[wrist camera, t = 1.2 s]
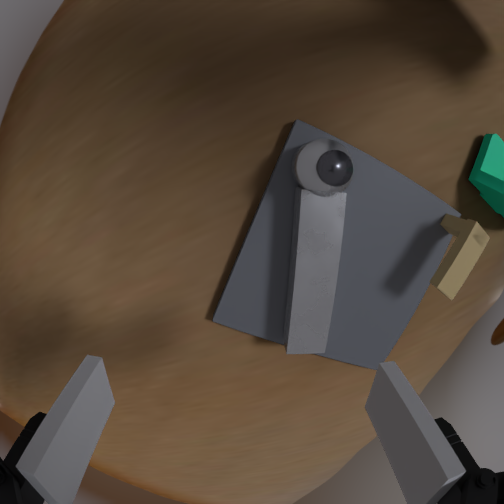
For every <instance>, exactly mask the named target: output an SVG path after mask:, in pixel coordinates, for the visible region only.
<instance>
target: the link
mask: <svg viewBox="0 0 504 504" xmlns="http://www.w3.org/2000/svg"><path fill="white" fill-rule="evenodd" d="M291 170H292V175H293V177H294V180H295V181H296V183H297V184H298V185H299V186H300V187H295V202H294V217H293V232H292V245H291V258H290V270H289V281H288V292H287V303H286V313H285V323H284V333H283V341H284V345H285V350H286V354H313V353H325V349H326V344H327V339H328V333H329V328H330V322H331V316H332V310H333V304H334V297H335V291H336V284H337V277H338V269H339V262H340V254H341V245H342V237H343V227H344V217H345V206H346V195H347V193H345V192H343V191H344V190H345V189H346V188H347V187H348V185H349V184H350V182H351V180H352V177H353V171H354V166H353V161H352V158H351V155H350V153H349V152H348V150H347V149H346V148H345V147H344V146H343V145H342V144H340V143H339V142H337V141H335V140H332V139H317V140H314V141H311V142H308V143H306V144H304V145H302V146H301V147H300V148H299V149H298V150H297V151H296V152H295V154H294V156H293V159H292V163H291Z"/></svg>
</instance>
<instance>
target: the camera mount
mask: <svg viewBox="0 0 504 504" xmlns="http://www.w3.org/2000/svg"><path fill="white" fill-rule="evenodd" d="M468 180H469V181H470V182H471V183H472V184H473V185H474V186H475V187H476V188H477V189H478V190H479V191H480V196H481V197H482V198H483V199H484V200H485V201H486V202H487V203H488V204H489V205H490V206H491V207H492V208H493V210H494V211H495V212H496V213H498V214H501V215H502V216H503V217H504V142H503V141H502V139H501V138H500V137H499V136H498V135H497V134H486V135H485V136H484V139H483V142H482V145H481V147H480V150H479V153H478V156H477V158H476V161H475V164H474V166H473V169H472V171H471V174H470V176H469V179H468Z"/></svg>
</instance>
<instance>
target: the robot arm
mask: <svg viewBox="0 0 504 504" xmlns="http://www.w3.org/2000/svg"><path fill="white" fill-rule="evenodd" d="M114 404H115V401H114V398H113V395H112V391H111V388H110V385H109V381H108V378H107V374H106V370H105V367H104V363H103V359H102V357H97V356H90V355H87V356H86V357H85V359H84V360H83V362H82V363H81V364H80V366H79V367H78V369H77V370H76V372H75V373H74V374H73V376H72V377H71V379H70V380H69V382H68V383H67V385H66V386H65V388H64V389H63V391H62V392H61V394H60V395H59V397H58V398H57V400H56V401H55V403H54V404H53V406H52V407H51V409H50V410H49V412H48V413H47V414H45V413H42V412H39V413H37V414H36V415H34V416H33V417H32V418H30V420H29V421H28V423H27V424H26V426H25V427H24V428H25V429H24V430H22V432H21V434H20V437H18V438H17V440H16V441H15V443H14V445H13V446H12V448H11V449H10V451H9V453H8V454H7V456H6V458H5V459H4V461H3V460H2V459H1V458H0V504H43V502H44V500H45V501H46V502H47V503H48V504H73V501H74V498H75V496H76V493H77V490H78V488H79V485H80V483H81V480H82V478H83V475H84V473H85V471H86V468H87V466H88V463H89V461H90V458H91V456H92V454H93V451H94V449H95V447H96V444H97V442H98V440H99V437H100V435H101V433H102V431H103V428H104V426H105V424H106V422H107V419H108V417H109V415H110V413H111V410H112V408H113V406H114ZM365 409H366V411H367V413H368V415H369V417H370V420H371V422H372V424H373V426H374V428H375V431H376V433H377V435H378V437H379V439H380V441H381V444H382V446H383V448H384V451H385V453H386V455H387V457H388V459H389V462H390V464H391V467H392V469H393V471H394V473H395V476H396V478H397V480H398V483H399V485H400V487H401V490H402V492H403V495H404V497H405V499H406V502H407V504H504V472H499V473H494V472H493V471H492V470H490V469H487V468H480V467H479V466H478V465H477V463H476V462H475V460H474V459H473V457H472V456H471V454H470V453H469V451H468V449H467V448H466V446H465V445H464V444H463V442H461V439H460V437H459V436H458V435H457V434H456V431H455V430H454V428H453V427H452V426H451V424H450V423H448V422H447V421H446V420H444V419H443V418H438V419H433V417H432V416H431V415H430V413H429V411H428V410H427V408H426V407H425V405H424V404H423V402H422V401H421V399H420V398H419V396H418V395H417V393H416V392H415V390H414V389H413V388H412V386H411V385H410V383H409V382H408V380H407V379H406V377H405V376H404V374H403V373H402V372H401V370H400V369H399V367H398V366H397V364H396V363H395V362H394V361H391V362H382V363H379V366H378V369H377V372H376V375H375V379H374V382H373V385H372V388H371V391H370V394H369V397H368V399H367V402H366V405H365Z"/></svg>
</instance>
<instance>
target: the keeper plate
mask: <svg viewBox="0 0 504 504" xmlns="http://www.w3.org/2000/svg"><path fill="white" fill-rule="evenodd" d="M317 139H332V140H335V141H337V142H339V143H340V144H342V145H343V146H344V147H345V148H346V149H347V150H348V152H349V153H350V155H351V158H352V161H353V166H354V171H353V177H352V180H351V182H350V184H349V185H348V187H347V188H346V189H345V190H344V191H343V192H345V193H347V195H346V206H345V217H344V227H343V237H342V245H341V254H340V262H339V269H338V277H337V284H336V291H335V297H334V304H333V310H332V316H331V322H330V328H329V333H328V339H327V344H326V349H325V353H313V354H316V355H320V356H324V357H327V358H331V359H335V360H338V361H342V362H346V363H350V364H354V365H358V366H362V367H366V368H370V369H374V370H377V369H378V366H379V363H382V362H384V361H385V359H386V358H387V356H388V355H389V353H390V352H391V350H392V349H393V347H394V345H395V344H396V342H397V341H398V339H399V337H400V336H401V334H402V333H403V331H404V329H405V328H406V326H407V324H408V323H409V321H410V319H411V317H412V316H413V314H414V312H415V310H416V309H417V307H418V305H419V303H420V301H421V300H422V298H423V296H424V294H425V292H426V290H427V288H428V286H429V284H430V283H431V284H432V285H434V286H435V287H436V288H437V289H438V290H439V291H441V292H442V293H443V294H444V295H445V296H447V297H448V298H449V299H451V300H453V298H454V297H455V295H456V294H457V292H458V291H459V289H460V288H461V286H462V285H463V283H464V282H465V280H466V278H467V277H468V275H469V274H470V272H471V270H472V269H473V267H474V265H475V264H476V262H477V260H478V258H479V257H480V255H481V253H482V251H483V250H484V248H485V246H486V244H487V242H488V241H489V239H490V237H489V236H488V235H487V233H486V232H485V231H484V230H483V228H482V227H481V226H480V225H479V223H478V222H477V221H474V220H471V219H467V220H465V219H462V218H460V216H461V214H460V213H459V212H458V211H456V210H455V209H454V208H452V207H451V206H449V205H448V204H446V203H445V202H444V201H442V200H441V199H439V198H438V197H436V196H435V195H433V194H432V193H430V192H429V191H427V190H426V189H424V188H423V187H421V186H420V185H418V184H417V183H415V182H414V181H412V180H410V179H409V178H407V177H406V176H404V175H402V174H401V173H399V172H397V171H396V170H394V169H392V168H391V167H389V166H387V165H386V164H384V163H382V162H380V161H379V160H377V159H375V158H373V157H372V156H370V155H368V154H366V153H364V152H363V151H361V150H359V149H357V148H355V147H353V146H351V145H349V144H348V143H346V142H344V141H342V140H340V139H338V138H336V137H334V136H332V135H330V134H328V133H326V132H324V131H322V130H320V129H317V128H315V127H313V126H311V125H309V124H307V123H305V122H302V121H300V120H298V119H297V120H296V121H294V124H293V126H292V128H291V131H290V133H289V135H288V138H287V140H286V142H285V145H284V147H283V149H282V152H281V154H280V156H279V159H278V161H277V163H276V166H275V168H274V170H273V173H272V175H271V177H270V180H269V182H268V184H267V187H266V189H265V192H264V194H263V196H262V199H261V201H260V203H259V206H258V208H257V211H256V213H255V215H254V218H253V220H252V222H251V225H250V227H249V230H248V232H247V234H246V237H245V239H244V242H243V244H242V246H241V249H240V251H239V254H238V256H237V258H236V261H235V263H234V266H233V268H232V271H231V273H230V275H229V278H228V280H227V283H226V285H225V288H224V290H223V292H222V295H221V297H220V300H219V302H218V305H217V307H216V310H215V312H214V314H213V320H212V321H213V322H216V323H219V324H222V325H225V326H227V327H230V328H233V329H236V330H239V331H242V332H245V333H248V334H251V335H254V336H257V337H260V338H263V339H267V340H270V341H273V342H276V343H279V344H283V345H284V341H283V333H284V323H285V313H286V303H287V292H288V281H289V270H290V258H291V245H292V232H293V217H294V202H295V187H300V186H299V185H298V184H297V183H296V181H295V180H294V177H293V175H292V170H291V163H292V159H293V156H294V154H295V152H296V151H297V150H298V149H299V148H300V147H301V146H302V145H304V144H306V143H308V142H311V141H314V140H317ZM453 235H454V236H456V237H457V239H456V240H455V242H454V244H453V245H452V247H451V249H450V250H449V252H448V254H447V255H446V257H445V258H444V260H443V262H442V263H441V265H440V266H439V264H440V262H441V260H442V258H443V256H444V254H445V251H446V249H447V247H448V245H449V242H450V240H451V238H452V236H453ZM438 266H439V268H438ZM437 268H438V269H437ZM436 270H437V271H436Z"/></svg>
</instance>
